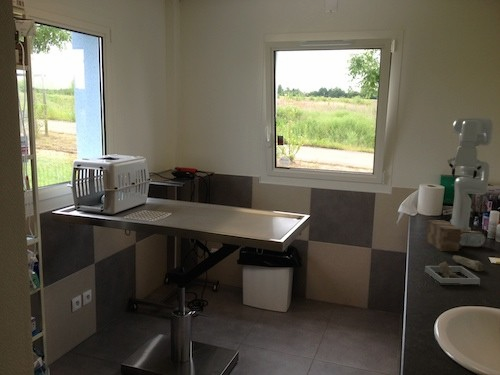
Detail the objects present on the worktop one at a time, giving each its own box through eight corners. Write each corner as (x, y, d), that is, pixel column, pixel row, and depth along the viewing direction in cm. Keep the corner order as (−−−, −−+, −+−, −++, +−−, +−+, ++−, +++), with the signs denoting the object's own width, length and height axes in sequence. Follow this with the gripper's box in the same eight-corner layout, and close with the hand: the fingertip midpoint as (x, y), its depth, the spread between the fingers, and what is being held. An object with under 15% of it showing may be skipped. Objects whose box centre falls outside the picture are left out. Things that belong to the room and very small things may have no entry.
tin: (483, 246, 243) (485, 230, 241) (486, 248, 240) (488, 232, 238) (454, 244, 244) (456, 229, 243) (456, 246, 241) (458, 230, 240)
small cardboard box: (426, 240, 249) (428, 220, 246) (449, 240, 250) (452, 220, 248) (441, 251, 232) (443, 229, 230) (466, 251, 233) (469, 229, 231)
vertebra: (461, 285, 188) (450, 263, 188) (443, 291, 192) (432, 269, 193) (465, 276, 197) (454, 255, 198) (447, 281, 202) (436, 260, 202)
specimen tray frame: (424, 272, 202) (425, 265, 201) (460, 272, 203) (461, 266, 202) (440, 285, 187) (441, 278, 187) (479, 285, 189) (480, 278, 188)
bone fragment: (485, 271, 206) (486, 261, 206) (476, 273, 204) (477, 263, 203) (459, 261, 218) (460, 252, 217) (450, 263, 215) (451, 254, 214)
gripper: (486, 145, 237) (481, 178, 240) (449, 143, 244) (446, 174, 247) (486, 146, 230) (482, 180, 233) (449, 143, 237) (445, 176, 240)
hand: (463, 177), depth 240 cm, fingers open, 9 cm apart
